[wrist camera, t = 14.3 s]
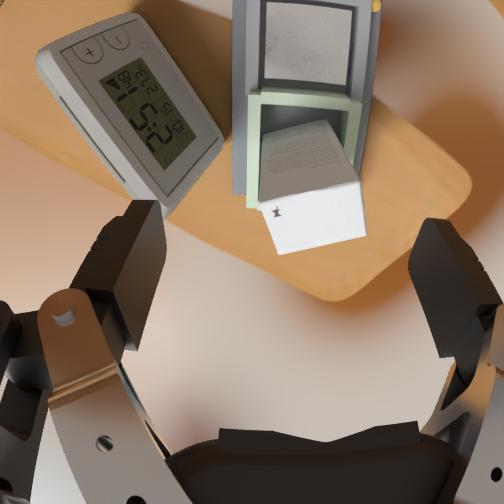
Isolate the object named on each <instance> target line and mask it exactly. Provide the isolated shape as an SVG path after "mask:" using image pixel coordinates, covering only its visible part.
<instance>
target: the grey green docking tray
mask: <svg viewBox="0 0 504 504" xmlns="http://www.w3.org/2000/svg"><path fill="white" fill-rule="evenodd" d="M267 2H275V3H292V4H303V5H313V6H322V7H330V8H337V9H343V10H349V11H352V19H351V32H350V44H349V56H348V66H347V76H346V85H340V84H332V83H323V82H313V81H302V80H289V79H272V78H264V77H265V46H266V12H267ZM381 4H382V0H233V19H232V166H233V194H243V195H247V201H246V208H257V211H262V210H261V208H260V205H259V196H260V175H261V154H262V135H263V134H265V133H269V132H273V131H277V130H281V129H285V128H289V127H293V126H297V125H301V124H305V123H310V122H314V121H319V120H323V119H327V120H328V122H329V124H330V125H331V127H332V129H333V131H334V132H335V134H336V136H337V138H338V140H339V142H340V143H341V145H342V147H343V149H344V151H345V153H346V155H347V156H348V158H349V160H350V162H351V164H352V166H353V168H354V169H355V171H356V173H357V175H358V176H359V170H360V165H361V160H362V154H363V149H364V143H365V137H366V131H367V125H368V119H369V112H370V106H371V99H372V92H373V84H374V76H375V67H376V59H377V50H378V40H379V30H380V17H381Z"/></svg>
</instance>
